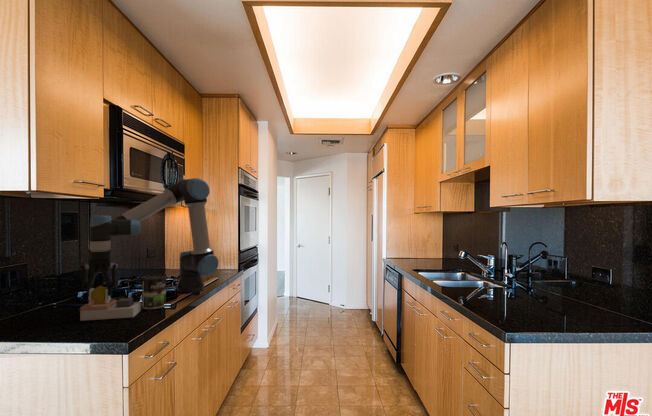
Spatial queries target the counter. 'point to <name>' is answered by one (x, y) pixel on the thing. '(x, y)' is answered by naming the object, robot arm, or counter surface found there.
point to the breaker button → (124, 302)
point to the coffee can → (154, 292)
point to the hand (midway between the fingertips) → (99, 303)
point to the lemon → (99, 294)
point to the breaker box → (108, 311)
